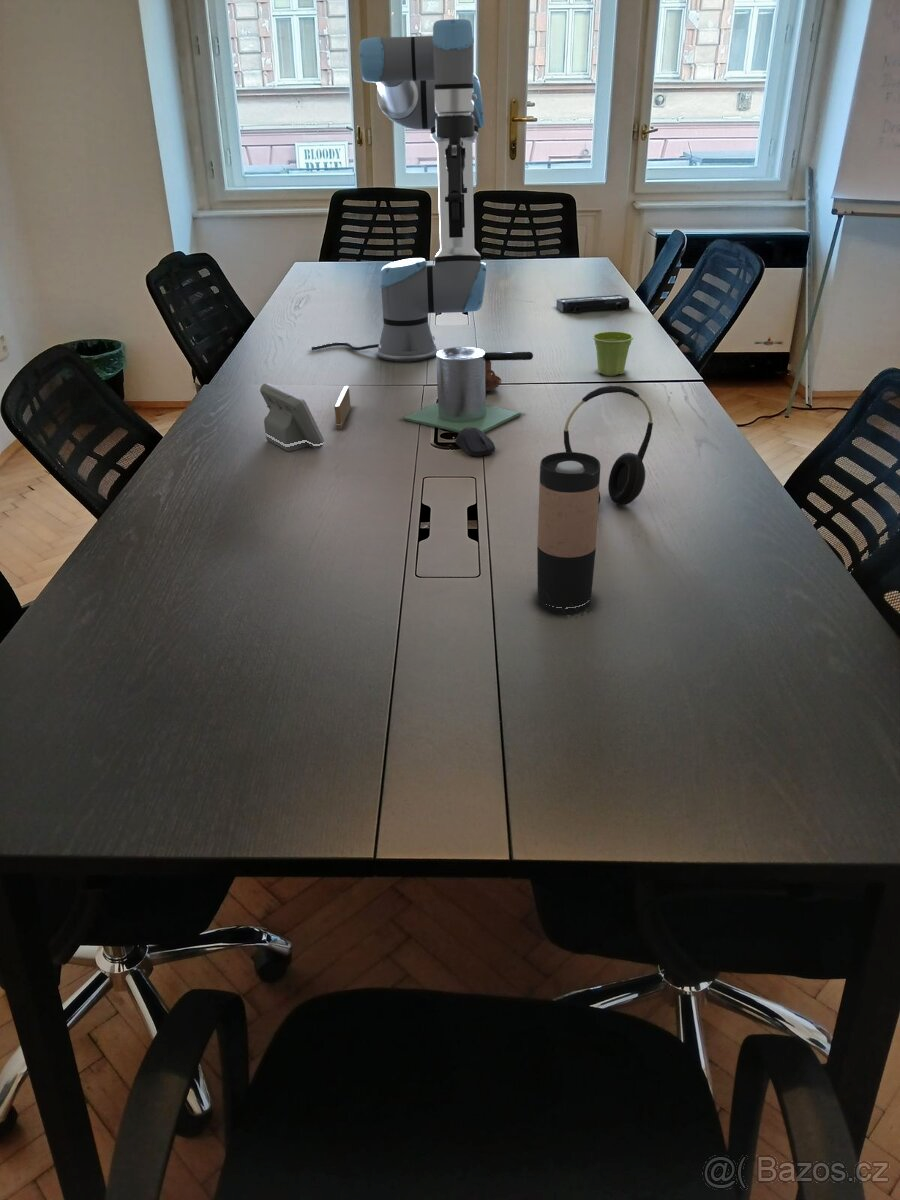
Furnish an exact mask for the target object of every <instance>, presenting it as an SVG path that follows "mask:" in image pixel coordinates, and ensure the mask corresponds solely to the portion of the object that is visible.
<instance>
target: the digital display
mask: <svg viewBox="0 0 900 1200" xmlns="http://www.w3.org/2000/svg"><path fill="white" fill-rule="evenodd" d="M630 302H631V301H630V298H629V297H627V296H625V295H623V294H609V295H593V296H592V295H591V296H579V297H578V296H577V297H565V298H564V297H563V298H556V305H555V308H556V309H558V310H559V311H561V312H562V313H575V314H579V313H580V312H589V311H591V312H592V311H603V310H616V311H621V310H622V309H629V308H630Z"/></svg>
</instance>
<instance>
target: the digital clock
mask: <svg viewBox="0 0 900 1200" xmlns="http://www.w3.org/2000/svg"><path fill="white" fill-rule="evenodd" d="M259 392H260V394H261V396H262V398H263V401H264V402H265V404H266V407H267V408H268V409H269V411H268V413H267V415H266V416H265V417H264V419H263V424H264V425H263V426H264V433H265V434H266V433H267V434H268V435H270V436H272V437H274V438H275V439H277V440H279V441H280V442H283V443H284V444H290V443H294V442H298V441H302V440H307V441H309V442H311V443H313V444H320V443H323V442H324V443H325V439H324V437H323V435H322V432H321V431H320V429H319V426H318V424H317V422H316V421H315V418H314V416H313V414H312V412H311V410H310V408H309V406H308V404H307V402H306V400H305V399H304V398H302V397H301V396H298V395H296V394H294V393H291V392H289V391H287V390H285V389H283V388H281V387H279V386H278V385H277V386H276V385H275V384H272V383H263V384H262V385H261V386H260V389H259ZM265 438H266V441H268V442H270V443H272V444H273V445H275V446H276V447H279V448H281V449H283V450H284V451H286V452H292V451H296V450H300V449H304V448H307V447H311V448H313V449H321V448H323V447H324V444H323V445H320V446H313V445H312V444H309V443H307V442H305V443H301V444H297V445H294V446H290V447H285V446H283V445H281V444H280V443H278V442H276V441H274V440H272V439H271V438H269V437H267V436H266V435H265Z"/></svg>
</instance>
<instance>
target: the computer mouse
mask: <svg viewBox="0 0 900 1200" xmlns="http://www.w3.org/2000/svg"><path fill="white" fill-rule="evenodd" d="M455 445H456V446H458V447H459V448H460V449H461V450H463V452H465V453H466V454H468V455H469V456H471V457H482V456H488V455H490V454H492V453H494V452H495V451H496V445H495V443H494V441H493V440H492V439H491V437H489V436H488V435H487V434H486V432H485V433H483V432H482V431H481V430H479V429H477V428H475V427H467V428H464V429H463V430H461V431H460V432H459V433H458V434H457V436H456V438H455Z"/></svg>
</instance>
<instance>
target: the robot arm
mask: <svg viewBox="0 0 900 1200" xmlns="http://www.w3.org/2000/svg"><path fill="white" fill-rule="evenodd" d="M474 42H475V38H474V31H473V23H472V21H471V20H470V19H466V18H465V19H464V18H453V19H449V18H448V19H439V20H436V21H435V22H434V23H433V26H432V35H419V36H417V35H416V36H415V35H414V36H381V37H380V36H375V37H368V38H362V39H361V40H360V42H359V49H358V50H359V51H358V52H359V55H358V56H359V68H360V75H361V79H362V80H363V82H365V83H373V84H376V86H377V88H376V101H377V104H378V106H379V110H381V113H382V114H383V115H385V117H386V118H388V119H389V120H391V121H392V122H393V123H395V124H397V125H399V126H402V127H404V128H408V129H412V130H429V131H430V139H432V140H433V142H434V143H435V144H436V147H437V151H436V152H437V183H438V184H437V185H438V214H439V215H438V216H439V218H438V219H439V251H438V252H437V253H436V255H435V256H434V264H427V263H428V262H427V261H426V259H425V258H423V257H412V258H405V259H401V260H396V261H394V262H390V263H388V264H386V265H384V266H383V267H382V268H381V270H380V285H379V287H380V289H381V303H382V306H381V307H382V323H383V326H382V331H381V334H380V340H379V343H376V344H369V345H363V346H354V345H352V344H351V343H349V342H345V343H338V342H331V343H332V344H330V343H326V345H325V344H321V345H322V346H320V345H316V346H317V347H315V346H311V348H310V349H311V351H315V350H321V349H325V348H330V347H338V346H344V347H348V348H350V349H351V350H353V351H363V350H369V349H376V348H378V349H377V352H378V353H377V354H378V357H379V358H380V359H381V360H385V361H388V362H398V363H399V362H400V363H408V362H418V361H425V360H428V359H431V358H433V357H436V353H437V345H436V342H435V340H436V338H435V335H433V334H432V330H431V327H430V325H429V314H447V313H449V314H450V313H463V314H464V313H469V312H470V313H472V312H478V311H479V310H481V308H482V307H483V304H484V303H483V302H484V297H485V296H484V295H485V287H486V278H487V263H485V262H483V261H482V258H481V254H480V252H479V251H477V250H476V248H475V213H474V212H475V211H474V210H475V209H474V207H475V205H474V156H473V155H474V154H473V143H474V142H475V141H476V139H477V138H478V137H479V129H482V128H484V126H485V114H484V103H483V96H482V89H481V83H480V80H479V77H478V76H477V75H476V73H474Z"/></svg>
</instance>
